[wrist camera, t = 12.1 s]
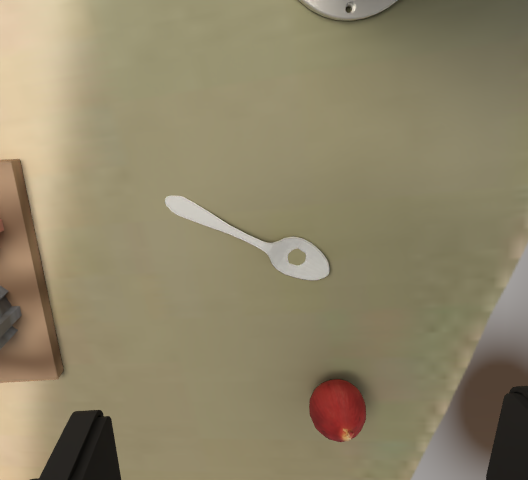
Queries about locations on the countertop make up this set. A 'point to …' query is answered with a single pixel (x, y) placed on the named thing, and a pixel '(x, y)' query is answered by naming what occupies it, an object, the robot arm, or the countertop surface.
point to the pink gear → (1, 226)
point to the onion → (337, 410)
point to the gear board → (23, 290)
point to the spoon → (259, 242)
